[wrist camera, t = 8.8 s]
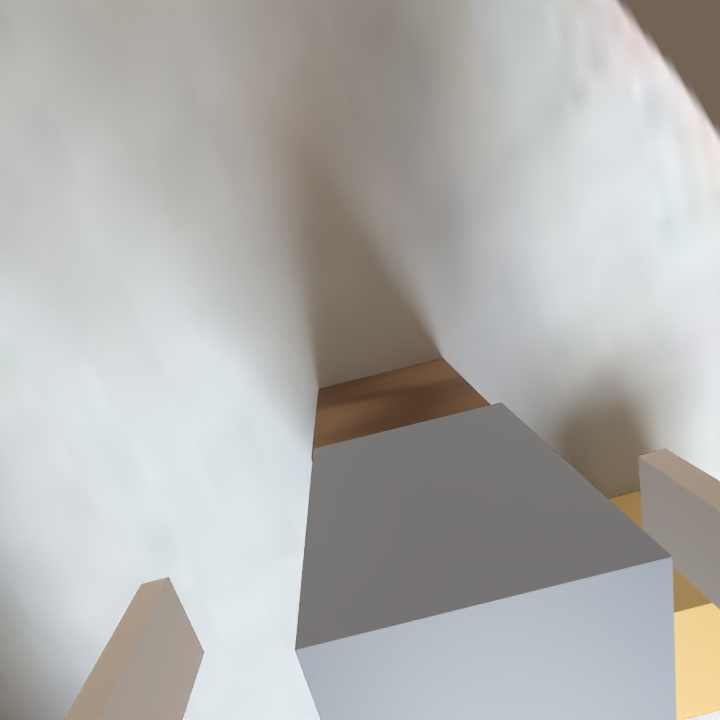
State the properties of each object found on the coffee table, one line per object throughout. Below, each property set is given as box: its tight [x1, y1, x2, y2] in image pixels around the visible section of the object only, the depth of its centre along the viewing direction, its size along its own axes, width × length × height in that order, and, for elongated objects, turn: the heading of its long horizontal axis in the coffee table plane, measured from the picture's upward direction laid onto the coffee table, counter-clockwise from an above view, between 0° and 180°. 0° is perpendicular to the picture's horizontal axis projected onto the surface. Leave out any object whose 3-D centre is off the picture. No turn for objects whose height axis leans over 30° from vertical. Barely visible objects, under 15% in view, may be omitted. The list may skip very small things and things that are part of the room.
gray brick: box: [295, 403, 677, 720], centre depth 9 cm, size 6×6×6 cm
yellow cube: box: [609, 491, 720, 720], centre depth 18 cm, size 6×6×6 cm
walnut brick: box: [312, 358, 490, 462], centre depth 15 cm, size 6×6×6 cm
